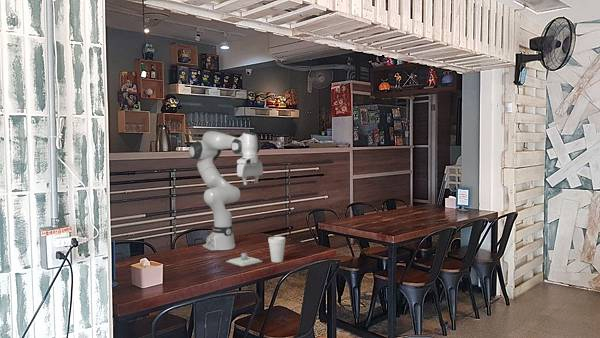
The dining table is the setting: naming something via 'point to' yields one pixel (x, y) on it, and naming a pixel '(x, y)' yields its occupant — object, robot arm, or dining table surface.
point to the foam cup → (276, 248)
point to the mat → (244, 264)
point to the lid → (244, 259)
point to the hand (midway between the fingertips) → (250, 184)
